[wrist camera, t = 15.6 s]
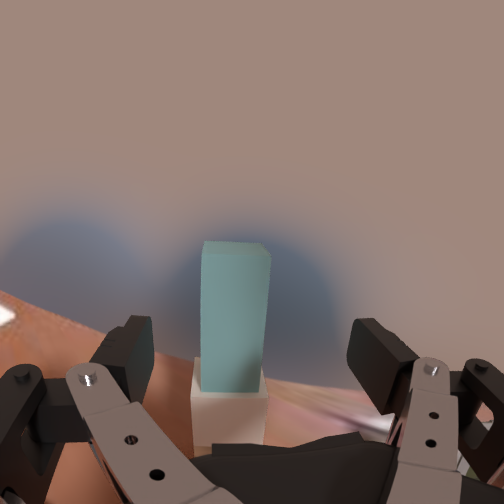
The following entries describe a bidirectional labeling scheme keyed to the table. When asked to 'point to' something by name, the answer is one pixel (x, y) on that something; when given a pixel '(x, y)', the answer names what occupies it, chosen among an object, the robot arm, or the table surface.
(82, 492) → the table surface
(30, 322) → the table surface
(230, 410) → the cream cube
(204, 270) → the teal post
